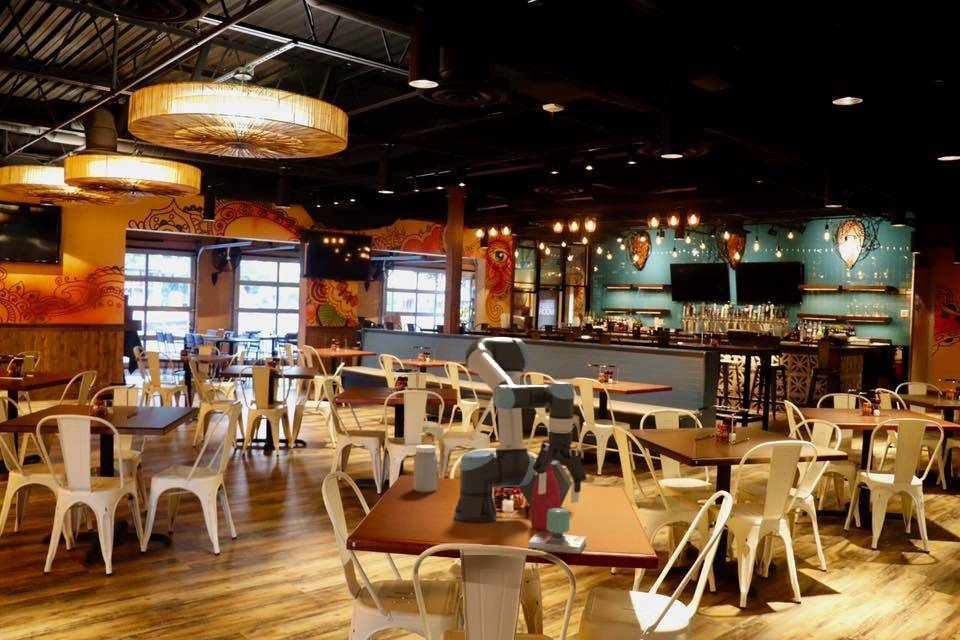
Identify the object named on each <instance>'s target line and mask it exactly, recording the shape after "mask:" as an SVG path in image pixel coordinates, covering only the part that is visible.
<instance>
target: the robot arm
mask: <svg viewBox="0 0 960 640" xmlns="http://www.w3.org/2000/svg"><path fill="white" fill-rule="evenodd" d="M529 359H530V357H529V351H528V348H527V345H526V343H525V342H524V341H523V340H522V339H521V338H516V337H515V338H514V337H513V338H512V337H480V338H478V339H475V340H474V341H473V342H471V343H470V344H469V345H468V346H467V348H466V350H465V355H464V360H465V364H466V366H467V368H468V369H469V370H470V371H471V373H474V374H478V376H479V378H481V379H482V380H483V382H484V383H485V384H486V385H487V386H488V388H489V389H490V390H491V392H492V402H493V404H494V406H495V408H496V409H497V420H498V438H499V439H498V440H499V444H498V446H497V447H496V448H495V454H494V452H493V450H489V449H486V450H485V449H484V450H483V449H478V450H477V449H476V450H472V451H469V452H466V453H464V454H463V455H462V456H461V460H460V466H459V470H460V474H459V478H460V479H459V497H458V500H457V502H456V503H457V504H456V505H455V508H454V512H453V513H454V515H453V517H454V519H455V520H457V521H461V522H465V523H474V524H477V523H490V522H494V521H495V520H497V518H498V512H497V508H496V504H495V500H494V498H493V497H494V495H493V491H494V490H493V489H494V488H507V487H515V488H519V487H518V486H523V485H527V484H528V483H529V482H530V481H531V479H532V477H533V474H534V472H535V470H536V471H537V472H536V473H537V475H538V480H537V481H538V483H539V490H538V494H543V493H546V473H543V472H546V471H545V470H546V469H547V468H548V466H549V465H550V464H551V463H552V461H553V460H554V461H559V462H562V463H563V464H564V465H565V467H566V469H567V470H568V472H569V474H570V476H571V479H573V480H572V481H571V482H572V484H571V487H570V488H571V492H570V503H571V504H575V503H579V501H580V499H579V496H580V494H579V493H581V488H582V487H581V485H582V482H584V481H587V479H588V478H587V476H586V472H585V469H584V467H583V463H582V461H581V457H580V449H579V448H576V449H572V447H571V446H572V443H573V432H572V431H573V424H574V402H575V385H574V384H573V382H570V381H569V382H568V381H557V380H556V381H551V383H550V384H549V383H538V384H521V379H520V378H521V377H522V376H523V375H524V370H525V369H527V368H528V366H529V361H530V360H529ZM522 409H549V411H548V416H549V417H548V429H549V431H548V436H547V438H548V442H549V443H550V444H549V443H542V442H541V445H540V451H539V453H538V455H537V457H536V461H535V464H534V459H535V458H534V456H533V454H532V453H530V452H528V447H527V446H526V445H525V444H524V439H523V435H524V434H523V419H522V417H523V416H522ZM548 450H549V451H550V453H549V454H548V456H547V458H546V459H545V457H546V455H547V453H548ZM544 459H545V460H544ZM543 461H544V462H543Z"/></svg>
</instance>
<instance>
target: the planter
mask: <svg viewBox="0 0 960 640" xmlns="http://www.w3.org/2000/svg"><path fill="white" fill-rule="evenodd" d="M533 459H534V464H535V461H536V459H537V458H536V459H535V458H533ZM551 465H552V471H553V474H554V476H555V479H556V481H557V484H558V487H559V492H560V508H561V507H562V505H563V503H564V501H565V499H566V497H567V495H568V493H569V490H570V488H572V482H573V481H571V478H570V477H569V475H568V474H567V472H566V470H565V469H564V468H563V465H562V464H561V461H558V460H553V461H552V463H551ZM535 473H537V471H536V470H534V474H533V477H532V479H531V481H530V482H529V483H528V484H527V485H523V486H518V487H517V488H518V489H519V492H521V494H522V496H523V497H524V499H525V501H526V502H527V505H528V506H529V507H530V508H531V496H532V490H533V487H534V484H535V481H536V479H537V477H538V474H535Z"/></svg>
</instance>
